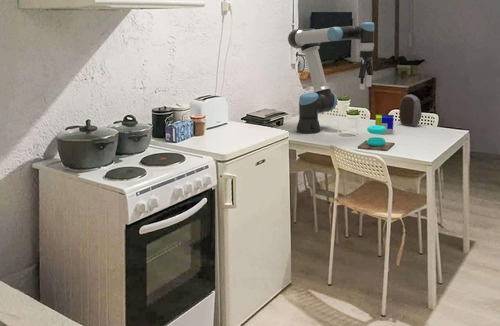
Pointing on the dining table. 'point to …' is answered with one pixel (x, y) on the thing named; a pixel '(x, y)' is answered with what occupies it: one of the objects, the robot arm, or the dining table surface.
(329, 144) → the dining table surface
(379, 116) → the puzzle toy
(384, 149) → the walnut board
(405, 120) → the soft grey pack
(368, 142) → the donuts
